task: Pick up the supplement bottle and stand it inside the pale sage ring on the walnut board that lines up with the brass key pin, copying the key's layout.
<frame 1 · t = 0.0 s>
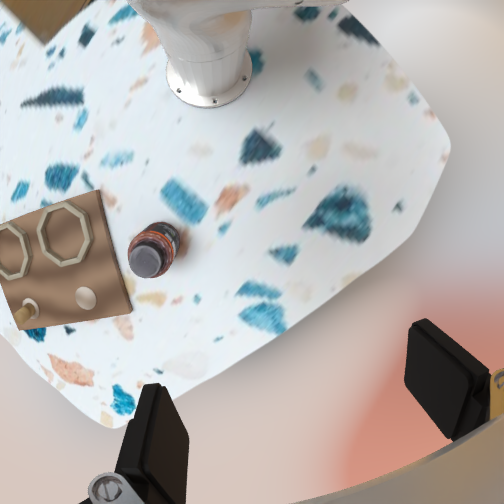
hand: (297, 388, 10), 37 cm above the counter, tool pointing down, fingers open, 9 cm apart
supplement bottle: (161, 240, 45), on the counter
layout board: (51, 267, 44), on the counter
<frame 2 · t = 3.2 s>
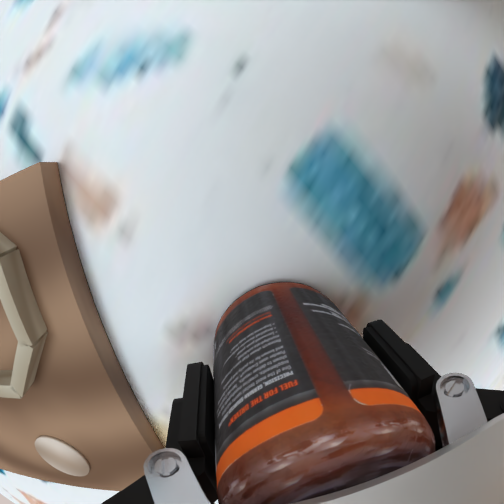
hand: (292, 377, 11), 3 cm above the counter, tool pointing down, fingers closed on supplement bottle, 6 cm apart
supplement bottle: (277, 335, 14), on the counter, touching gripper
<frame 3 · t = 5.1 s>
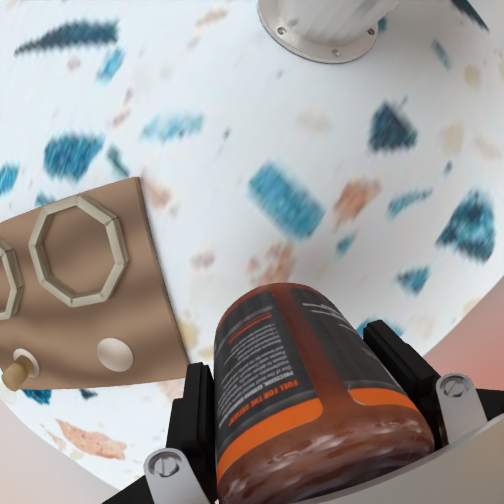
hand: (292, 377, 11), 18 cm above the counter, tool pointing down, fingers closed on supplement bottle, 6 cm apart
supplement bottle: (277, 335, 14), point 15 cm above the counter, touching gripper
layout board: (54, 303, 27), on the counter
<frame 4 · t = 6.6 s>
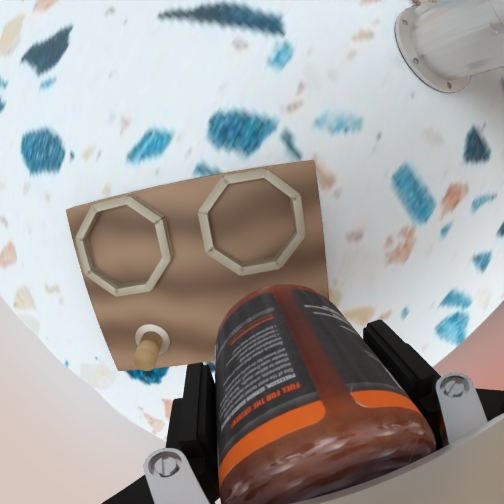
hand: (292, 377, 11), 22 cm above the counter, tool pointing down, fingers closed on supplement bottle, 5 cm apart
supplement bottle: (278, 336, 14), point 19 cm above the counter, touching gripper
layout board: (201, 274, 32), on the counter
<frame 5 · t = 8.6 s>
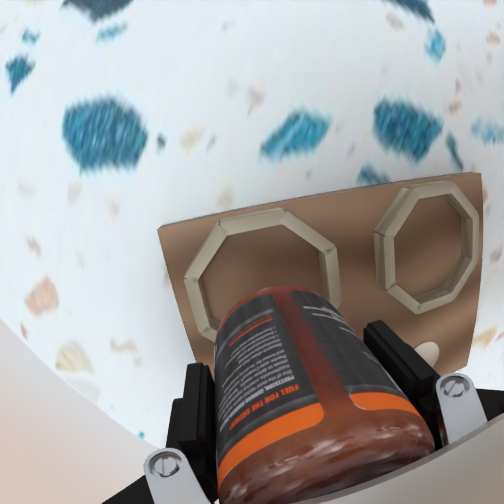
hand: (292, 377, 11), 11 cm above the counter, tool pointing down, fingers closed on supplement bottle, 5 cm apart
supplement bottle: (277, 337, 14), point 8 cm above the counter, touching gripper
layout board: (356, 314, 24), on the counter
when the fingers open (6 cm above the counter, at t = 10.2 s): supplement bottle drops 1 cm, resting on layout board.
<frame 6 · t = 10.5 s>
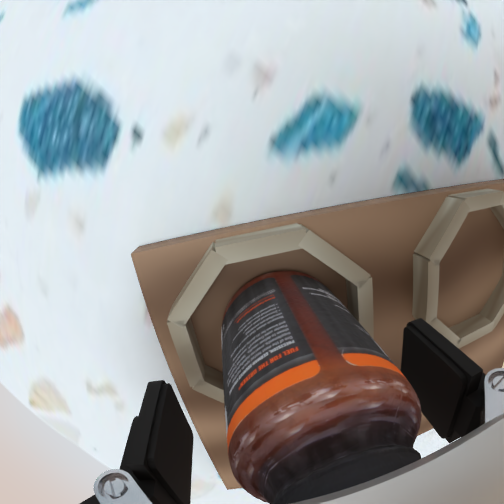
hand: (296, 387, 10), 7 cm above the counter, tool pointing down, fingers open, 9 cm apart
supplement bottle: (279, 320, 16), point 1 cm above the counter, touching layout board
layout board: (383, 350, 18), on the counter
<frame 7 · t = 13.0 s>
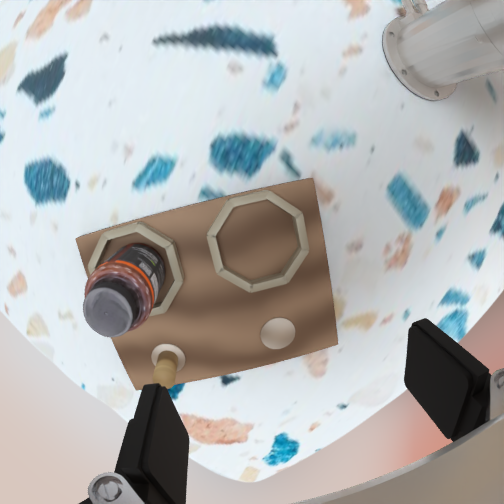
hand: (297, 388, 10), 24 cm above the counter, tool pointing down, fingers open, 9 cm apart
supplement bottle: (139, 268, 31), point 1 cm above the counter, touching layout board
layout board: (212, 293, 34), on the counter
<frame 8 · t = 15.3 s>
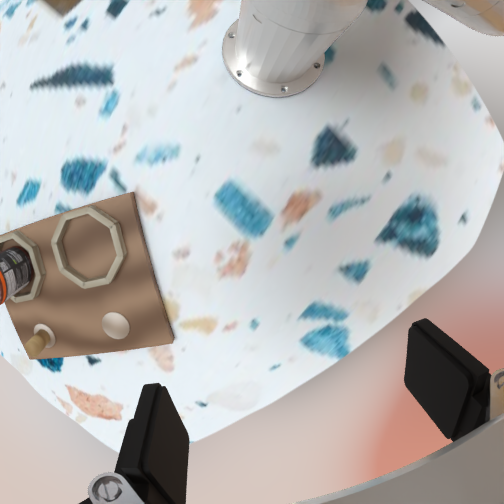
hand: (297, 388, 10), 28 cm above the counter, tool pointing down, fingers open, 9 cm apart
supplement bottle: (20, 265, 34), point 1 cm above the counter, touching layout board
layout board: (69, 287, 37), on the counter
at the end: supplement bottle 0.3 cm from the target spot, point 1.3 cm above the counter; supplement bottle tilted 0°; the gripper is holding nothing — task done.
